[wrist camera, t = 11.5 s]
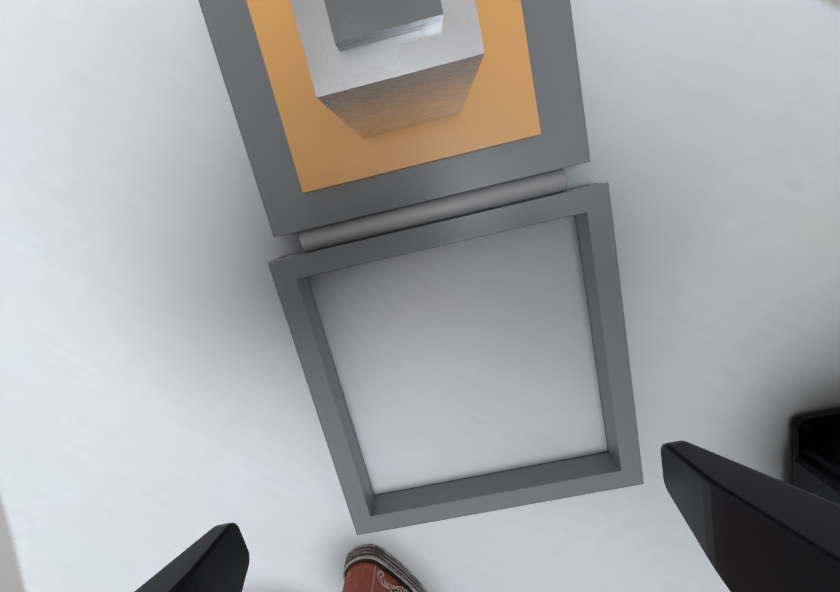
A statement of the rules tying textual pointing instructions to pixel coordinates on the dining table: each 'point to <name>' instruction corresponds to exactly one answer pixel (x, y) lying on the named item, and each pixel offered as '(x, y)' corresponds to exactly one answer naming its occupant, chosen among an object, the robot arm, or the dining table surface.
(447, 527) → the dining table surface
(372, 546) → the red tin
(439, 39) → the block
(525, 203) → the gray square frame
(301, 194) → the lid
